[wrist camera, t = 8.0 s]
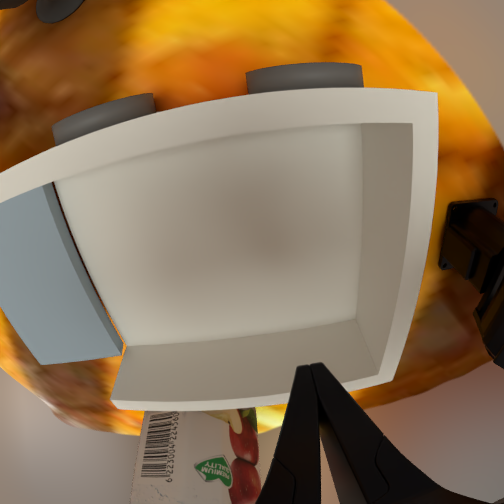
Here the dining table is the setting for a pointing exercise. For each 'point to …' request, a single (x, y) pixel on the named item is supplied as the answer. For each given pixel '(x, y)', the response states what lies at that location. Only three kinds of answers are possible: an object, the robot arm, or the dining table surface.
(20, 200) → the panel
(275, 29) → the dining table surface
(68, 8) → the sundae
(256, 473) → the juice carton
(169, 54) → the dining table surface
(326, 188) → the cart
